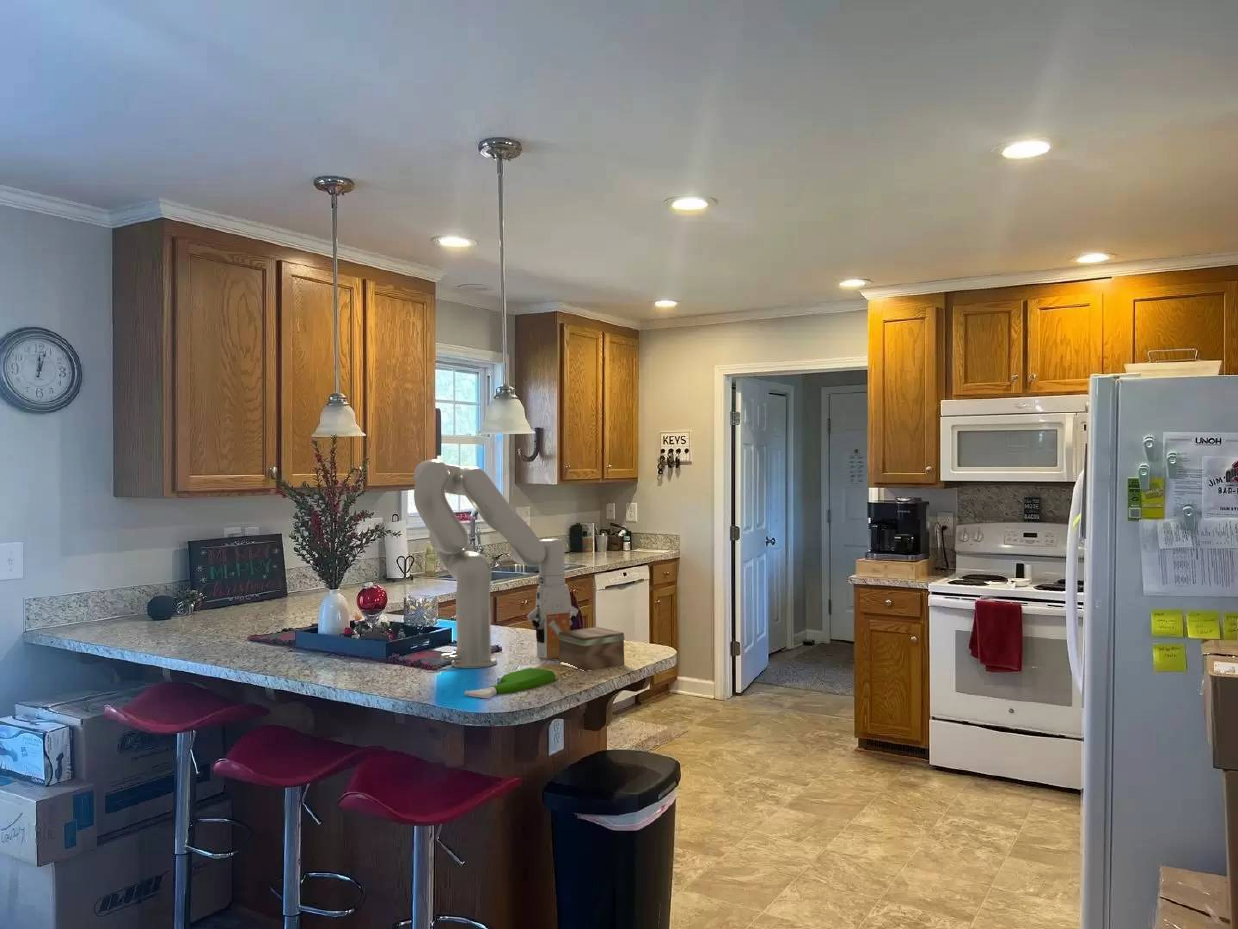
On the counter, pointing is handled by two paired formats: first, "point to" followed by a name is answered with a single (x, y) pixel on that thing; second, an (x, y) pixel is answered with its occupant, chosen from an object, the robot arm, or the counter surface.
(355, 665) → the counter surface
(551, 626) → the small box
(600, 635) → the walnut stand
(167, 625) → the counter surface
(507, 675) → the green and white oblong
